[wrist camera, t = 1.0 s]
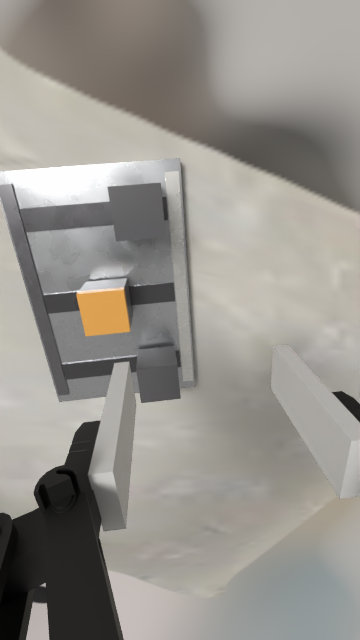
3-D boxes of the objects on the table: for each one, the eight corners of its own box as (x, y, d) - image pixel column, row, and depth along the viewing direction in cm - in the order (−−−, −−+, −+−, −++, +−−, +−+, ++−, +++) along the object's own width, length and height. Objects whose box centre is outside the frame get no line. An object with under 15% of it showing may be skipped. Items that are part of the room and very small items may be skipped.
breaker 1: (121, 235, 27) (115, 241, 23) (114, 188, 25) (107, 186, 22) (164, 232, 27) (165, 237, 23) (159, 184, 25) (160, 182, 22)
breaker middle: (93, 319, 30) (85, 336, 26) (86, 281, 28) (76, 294, 25) (133, 315, 30) (130, 331, 26) (127, 277, 28) (123, 289, 25)
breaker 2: (142, 380, 33) (141, 402, 29) (137, 349, 32) (136, 369, 28) (177, 376, 33) (180, 398, 30) (174, 345, 32) (177, 364, 28)
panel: (62, 393, 35) (58, 403, 34) (0, 173, 26) (-10, 171, 24) (193, 379, 36) (195, 387, 34) (178, 160, 27) (180, 157, 25)
